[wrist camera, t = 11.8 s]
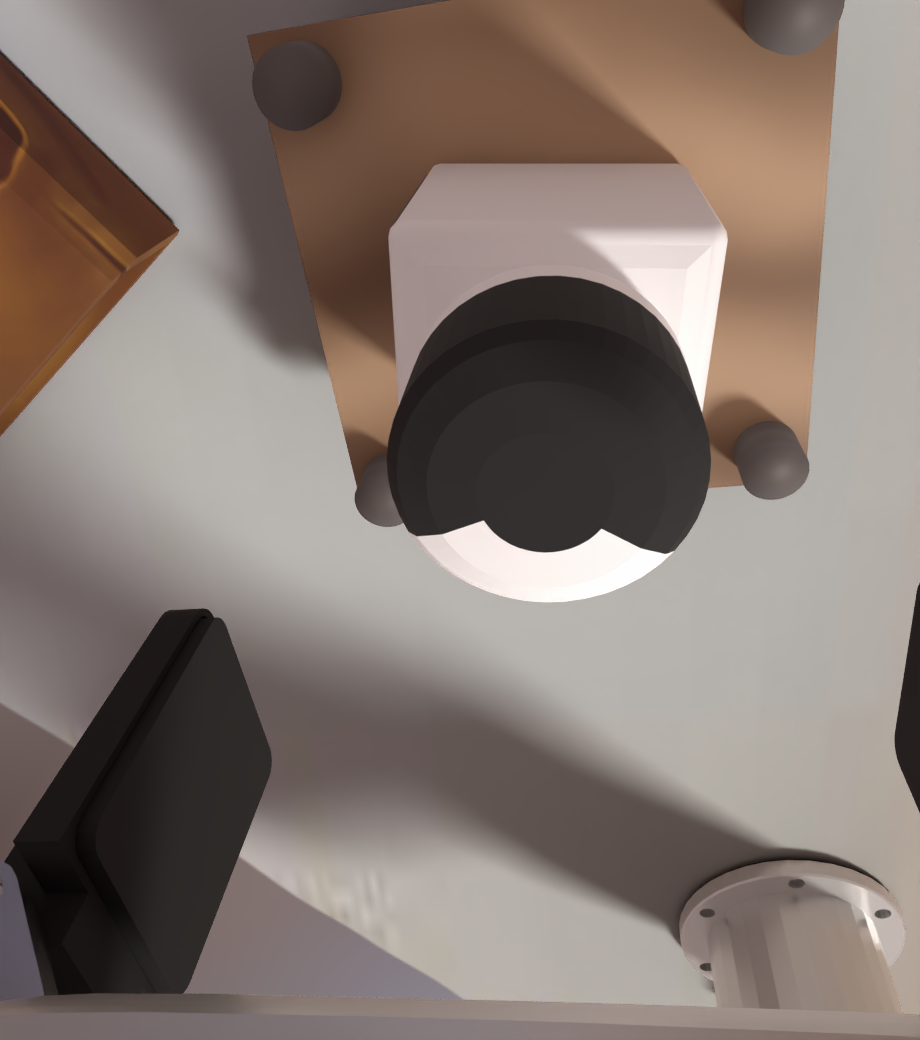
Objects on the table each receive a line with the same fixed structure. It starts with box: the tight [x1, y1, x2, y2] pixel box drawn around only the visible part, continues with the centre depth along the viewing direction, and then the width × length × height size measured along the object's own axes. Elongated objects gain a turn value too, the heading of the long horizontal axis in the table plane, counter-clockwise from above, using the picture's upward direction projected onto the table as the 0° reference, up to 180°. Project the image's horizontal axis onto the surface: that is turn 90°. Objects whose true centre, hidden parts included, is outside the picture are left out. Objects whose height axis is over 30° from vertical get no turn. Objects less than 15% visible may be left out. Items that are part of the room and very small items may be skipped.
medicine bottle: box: [387, 164, 728, 602], centre depth 20 cm, size 7×7×12 cm
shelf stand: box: [247, 0, 845, 527], centre depth 27 cm, size 15×15×8 cm
